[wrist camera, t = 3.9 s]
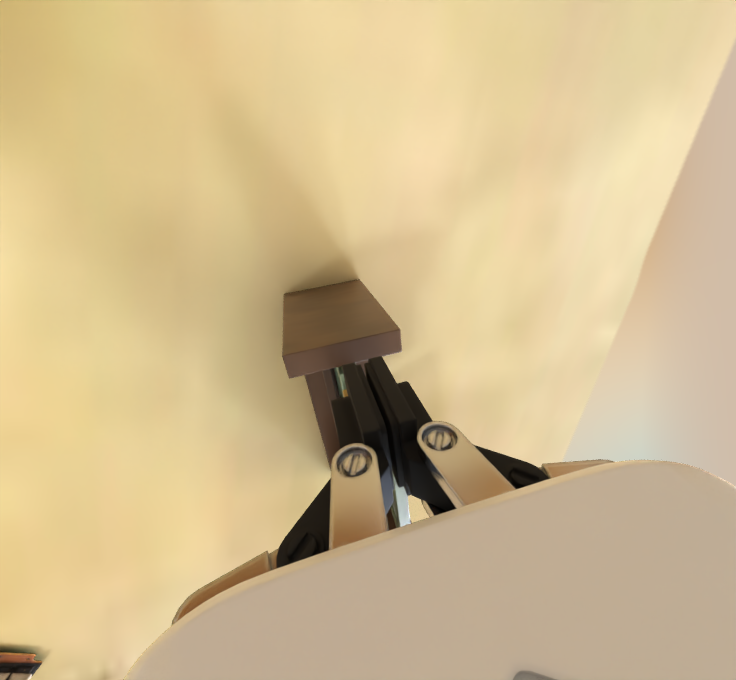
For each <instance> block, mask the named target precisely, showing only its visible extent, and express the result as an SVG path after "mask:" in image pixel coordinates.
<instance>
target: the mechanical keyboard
mask: <svg viewBox="0 0 736 680" xmlns="http://www.w3.org/2000/svg"><path fill="white" fill-rule="evenodd" d="M35 656H36V654H32V653H31V654H28V653H8V652H4V653H2V652H0V680H29V679H30V678H31V676H32V675H33V674H34V673H35V672H36V670H37V669H38V668H39V667H40V665H41V664H42V661H37V660H34V657H35Z"/></svg>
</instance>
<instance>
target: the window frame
mask: <svg viewBox="0 0 736 680" xmlns="http://www.w3.org/2000/svg"><path fill="white" fill-rule="evenodd" d="M399 352H402V345H401V333H400V329H399V327H398V326H397V325H396V324H395V322H394V321H393V320H392V319H391V317H390V316H389V315H388V314H387V313H386V311H385V310H384V309H383V308H382V306H381V305H380V304H379V303H378V302H377V300H376V299H375V298H374V297H373V295H372V294H371V293H370V292H369V290H368V289H367V288H366V287H365V286H364V284H363V283H362V282H361V281H360V279H358V280H353V281H348V282H343V283H338V284H333V285H328V286H323V287H318V288H312V289H307V290H302V291H297V292H292V293H287V294H284V309H283V349H282V357H283V360H284V363H285V367H286V370H287V373H288V377H289V378H294V377H298V376H302V375H305V378H306V381H307V385H308V389H309V392H310V396H311V400H312V403H313V407H314V411H315V414H316V418H317V422H318V425H319V429H320V432H321V436H322V440H323V443H324V447H325V451H326V454H327V458H328V462H329V465H330V469H331V464H332V459H333V457H334V456H335V454H336V453H337V452H338V451H339V450H340V444H339V439H338V434H337V429H336V424H335V419H334V414H333V409H332V404H331V400H334V399H338V398H340V395H339V390H338V386H337V381H336V376H335V372H334V368H336V367H340V366H342V365H344V364H349V363H353V362H355V363H356V365H360V364H361V367H362V369H363V371H364V374H365V376H366V373H365V367H364V363H368V359H370V358H374V357H378V356H386V355H390V354H394V353H399ZM392 473H393V472H392ZM393 480H394V488H395V489H394V490H393V498H394V501H393V503H392V505H391V507H390V509H389V511H388V513H387V514H386V515H387V521H388V528H389V531H390V530H393V529H396V528H399V527H402V526H405V525H408V524H411V520H410V514H409V504H408V496H407V494H406V491H405V489H404V487H400V488H399V487H398V485H397V482H396V480H395V477H394V474H393Z"/></svg>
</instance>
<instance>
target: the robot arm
mask: <svg viewBox="0 0 736 680" xmlns="http://www.w3.org/2000/svg"><path fill="white" fill-rule="evenodd" d="M364 367H365V373H366V376H365V374H364V371H363V369H362V367H361V364H360V365H356V364H355V362H353V363H349V364H344V365H342V369H343V374H344V379H345V384H346V389H347V394H348V396H346V397H342V398H338V399H334V400H331V404H332V409H333V414H334V419H335V424H336V429H337V434H338V439H339V444H340V450H339V451H338V452H337V453H336V454H335V456H334V457H333V459H332V464H331V479H330V480H329V481H328V482H327V484H326V485H325V486H324V488H323V489H322V490H321V492H320V493H319V494H318V495H317V497H316V498H315V499H314V501H313V502H312V503H311V505H310V506H309V507H308V508H307V510H306V511H305V512H304V514H303V515H302V516H301V518H300V519H299V520H298V521H297V523H296V524H295V525H294V527H293V528H292V529H291V531H290V532H289V533H288V534H287V536H286V537H285V538H284V540H283V542H282V543H281V545H280V547H279V549H277V550H275V551H273V552H272V553H270V554H269V553H268V551H266V552H264V553H262V554H260V555H259V556H257V557H255V558H253V559H251V560H250V561H248V562H246V563H244V564H243V565H241V566H239V567H237V568H235V569H234V570H232V571H230V572H228V573H227V574H225V575H223V576H221V577H220V578H218V579H216V580H214V581H212V582H211V583H209V584H207V585H205V586H204V587H202V588H200V589H198V590H197V591H196V592H194V593H193V594H192V595H190V596H189V597H188V598H187V599H186V600H185V601H184V603H183V604H182V605H181V606H180V607H179V609H178V611H177V613H176V615H175V617H174V619H173V621H172V625H171V627H170V628H168V629H167V630H166V631H165V632H164V633H163V634H162V635H161V636H159V637H158V638H157V639H156V640H155V641H154V642H153V643H152V644H151V645H150V646H149V647H148V648H147V649H146V650H145V651H144V652H143V654H142V655H141V656H140V657H139V658H138V659H137V661H136V662H135V663H134V665H133V666H132V667H131V669H130V670H129V672H128V673H127V675H126V676H125V678H124V679H123V680H736V486H734V485H732V484H730V483H729V482H727V481H725V480H723V479H721V478H719V477H717V476H715V475H713V474H711V473H709V472H707V471H704V470H702V469H700V468H697V467H693V466H690V465H686V464H681V463H676V462H668V461H655V460H631V461H620V462H613V461H610V460H601V459H600V460H586V461H573V462H560V463H547V464H542V467H541V468H538V467H536V466H534V465H532V464H530V463H528V462H524V461H521V460H518V459H515V458H512V457H509V456H506V455H503V454H500V453H497V452H494V451H491V450H487V449H484V448H481V447H478V446H475V445H473V444H472V443H471V442H470V441H469V440H468V439H467V438H466V437H465V436H464V435H463V434H462V433H461V432H460V431H459V430H458V429H457V428H456V427H455V426H453V425H452V424H449V423H447V422H442V421H432V419H431V418H430V416H429V415H428V413H427V411H426V410H425V408H424V407H423V405H422V403H421V402H420V400H419V398H418V397H417V395H416V394H415V392H414V390H413V389H412V387H411V386H410V384H409V383H408V382H407V381H406V382H402V383H398V384H397V383H396V381H395V379H394V378H393V376H392V374H391V372H390V370H389V369H388V367H387V365H386V363H385V362H384V360H383V358H382V356H378V357H374V358H370V359H368V363H364ZM392 472H393V473H392ZM393 474H394V477H395V480H396V482H397V485H398V487H399V488H400V487H404V489H405V491H406V494H407V496H408V495H413V496H415V497H417V498H419V499H421V501H422V504H423V507H424V509H425V510H426V512H427V514H428V515H429V518H426V519H423V520H420V521H417V522H414V523H411V524H408V525H405V526H402V527H399V528H396V529H393V530H390V531H389V528H388V521H387V515H386V514H387V513H388V511H389V509H390V507H391V505H392V503H393V501H394V498H393V490H394V489H395V488H394V480H393Z"/></svg>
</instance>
